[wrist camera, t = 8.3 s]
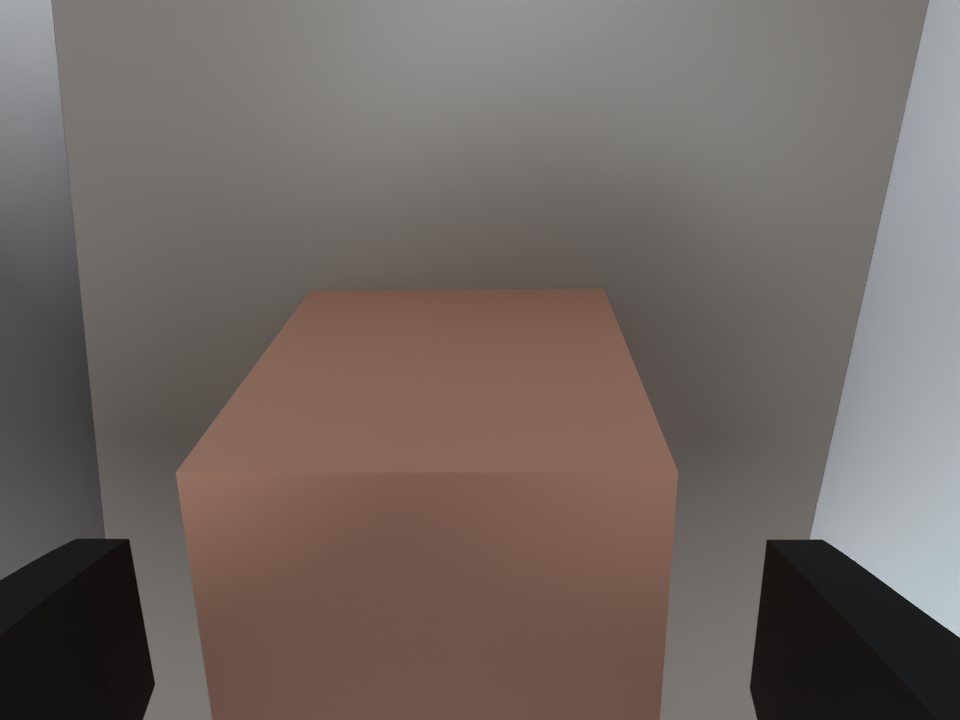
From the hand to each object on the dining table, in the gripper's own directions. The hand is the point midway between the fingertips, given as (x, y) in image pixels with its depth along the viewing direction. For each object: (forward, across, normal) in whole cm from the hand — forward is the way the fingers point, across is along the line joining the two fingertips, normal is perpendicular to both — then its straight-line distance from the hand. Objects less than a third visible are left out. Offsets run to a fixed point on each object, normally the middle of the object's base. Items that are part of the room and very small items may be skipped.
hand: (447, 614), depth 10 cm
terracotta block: (+5, 0, 0) cm, 5 cm away
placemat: (+5, 0, 0) cm, 5 cm away
